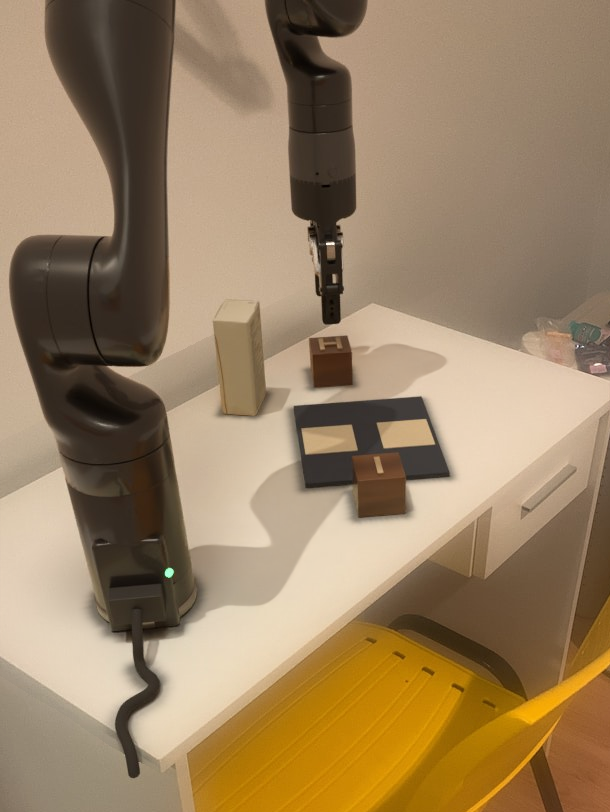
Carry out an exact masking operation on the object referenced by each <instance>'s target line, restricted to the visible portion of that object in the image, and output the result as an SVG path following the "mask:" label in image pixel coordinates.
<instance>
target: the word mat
mask: <svg viewBox="0 0 610 812" xmlns="http://www.w3.org/2000/svg"><path fill="white" fill-rule="evenodd" d="M293 413H294V420H295V427H296V432H297V440H298V447H299V453H300V459H301V466H302V472H303V478H304V485H305V488H306V489H310V488H320V487H321V488H322V487H335V486H348V485H353V479H352V456H359V455H371V454H384V453H397V452H398V453H399V456H400V459H401V462H402V466H403V469H404V472H405V476H406V481H409V480H421V479H433V478H445V477H450V470H449V469H450V468H449V466H448V463H447V462H446V459H445V456H444V453H443V451H442V447H441V444H440V442H439V440H438V437H437V434H436V431H435V429H434V425H433V423H432V420H431V418H430V415H429V413H428V410H427V407H426V404H425V403H424V400H423V397H422V396H407V397H395V398H382V399H381V398H378V399H367V400H354V401H353V400H351V401H340V402H338V401H337V402H327V403H314V404H313V403H312V404H300V405H299V404H298V405H293Z"/></svg>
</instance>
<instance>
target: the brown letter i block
mask: <svg viewBox="0 0 610 812" xmlns="http://www.w3.org/2000/svg"><path fill="white" fill-rule="evenodd" d="M352 479H353V484H352V496H353V499H354V504H355V509H356V513H357V517H358V518H366V517H379V516H380V517H381V516H392V515H402V514H404V515H405V514H406V504H407V503H406V501H407V499H406V497H407V495H406V494H407V493H406V492H407V480H406V476H405V472H404V469H403V466H402V462H401V459H400V456H399V453H398V452H397V453H384V454H371V455H359V456H352Z"/></svg>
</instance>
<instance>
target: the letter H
mask: <svg viewBox="0 0 610 812" xmlns="http://www.w3.org/2000/svg"><path fill="white" fill-rule="evenodd" d="M308 345H309V362H310V363H309V365H310V374H311V379H312V384H313V388H323V387H324V388H325V387H340V386H341V387H342V386H352V385H354V383H353V377H354V376H353V351H352V348H351V343H350V339H349V336H348V335H334V336H317V337H309V338H308Z"/></svg>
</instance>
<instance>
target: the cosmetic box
mask: <svg viewBox="0 0 610 812" xmlns="http://www.w3.org/2000/svg"><path fill="white" fill-rule="evenodd" d="M212 327H213V328H212V329H213V337H214V345H215V346H214V347H215V354H216V364H217V365H216V366H217V375H218V384H219V385H218V386H219V392H220V402H221V409H222V410H221V411H222V414H225V415H236V416H237V415H239V416H250V417H251V416H252V417H255V416H256V415H257V414H258V412H259V410H260V408H261V405H262V404H263V401H264V399H265V397H266V394H267V385H266V372H265V371H266V369H265V359H264V346H263V331H262V319H261V306H260V300H251V299H250V300H249V299H233V298H225V299H224V300H223V301H222V303H221V304H220V306H219V307H218V309H217V311H216V312H215V315H214V316H213V318H212Z"/></svg>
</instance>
